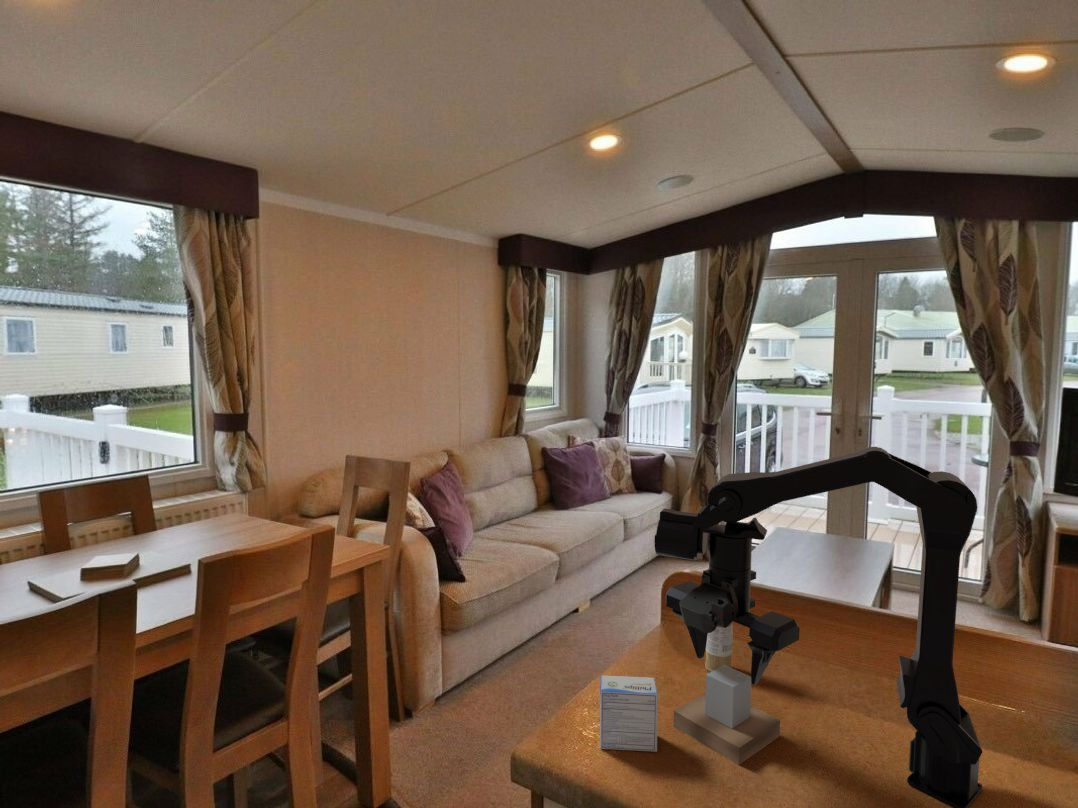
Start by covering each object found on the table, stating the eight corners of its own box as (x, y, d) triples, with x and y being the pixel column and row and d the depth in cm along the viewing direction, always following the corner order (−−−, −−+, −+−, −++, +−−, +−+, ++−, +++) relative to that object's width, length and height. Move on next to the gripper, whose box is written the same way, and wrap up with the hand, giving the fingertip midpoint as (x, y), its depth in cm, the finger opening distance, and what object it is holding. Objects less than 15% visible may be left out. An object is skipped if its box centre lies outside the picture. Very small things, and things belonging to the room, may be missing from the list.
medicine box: (654, 734, 90) (655, 676, 90) (657, 754, 86) (658, 693, 85) (599, 731, 91) (600, 673, 90) (599, 750, 87) (600, 690, 86)
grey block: (750, 716, 90) (751, 676, 90) (732, 728, 87) (733, 687, 87) (723, 703, 94) (724, 664, 93) (705, 714, 91) (705, 674, 90)
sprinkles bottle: (723, 661, 111) (725, 587, 110) (736, 674, 107) (739, 597, 106) (699, 664, 110) (701, 590, 109) (712, 677, 106) (714, 600, 105)
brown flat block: (779, 740, 90) (780, 720, 90) (738, 769, 84) (739, 747, 83) (714, 706, 98) (715, 687, 98) (673, 730, 92) (673, 710, 92)
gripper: (641, 558, 91) (639, 661, 93) (755, 599, 76) (751, 721, 78) (690, 544, 98) (688, 640, 99) (803, 578, 83) (799, 691, 85)
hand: (726, 670), depth 90 cm, fingers open, 9 cm apart
